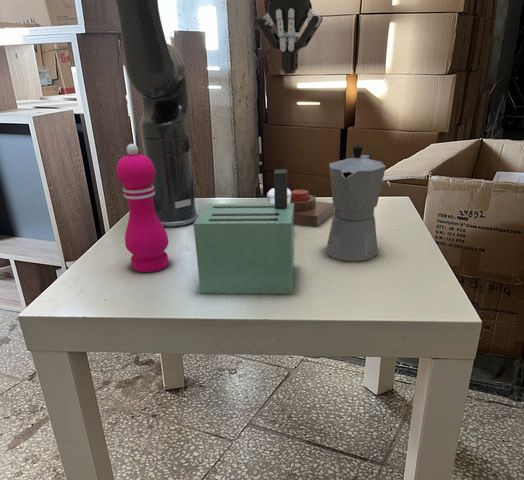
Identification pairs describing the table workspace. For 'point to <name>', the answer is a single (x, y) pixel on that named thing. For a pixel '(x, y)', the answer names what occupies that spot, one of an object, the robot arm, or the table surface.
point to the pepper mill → (142, 213)
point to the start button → (299, 195)
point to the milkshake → (272, 197)
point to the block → (311, 211)
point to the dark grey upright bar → (280, 188)
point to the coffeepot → (354, 206)
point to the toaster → (245, 248)
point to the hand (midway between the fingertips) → (289, 73)
